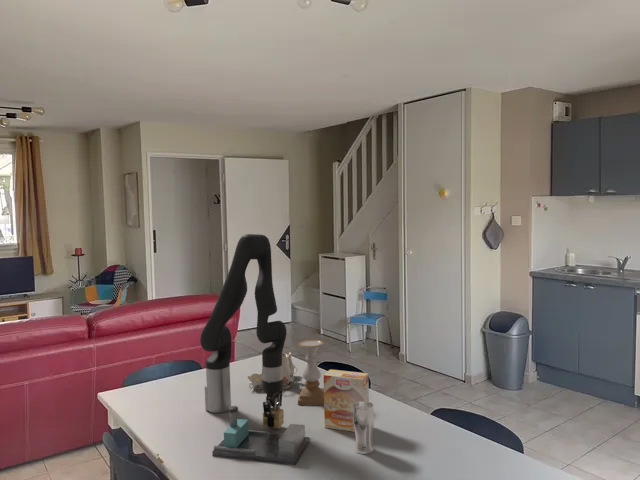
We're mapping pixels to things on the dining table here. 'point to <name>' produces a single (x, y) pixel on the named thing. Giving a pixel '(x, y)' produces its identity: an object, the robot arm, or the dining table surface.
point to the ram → (235, 429)
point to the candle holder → (311, 375)
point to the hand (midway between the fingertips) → (273, 423)
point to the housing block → (275, 419)
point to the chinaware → (287, 374)
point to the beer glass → (363, 426)
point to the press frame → (269, 446)
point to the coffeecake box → (343, 397)
